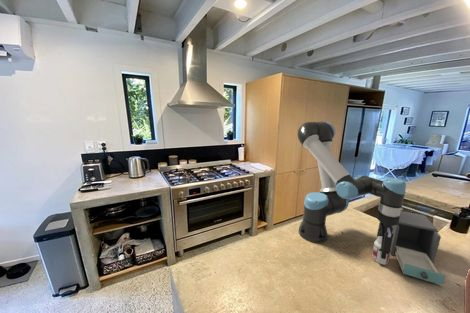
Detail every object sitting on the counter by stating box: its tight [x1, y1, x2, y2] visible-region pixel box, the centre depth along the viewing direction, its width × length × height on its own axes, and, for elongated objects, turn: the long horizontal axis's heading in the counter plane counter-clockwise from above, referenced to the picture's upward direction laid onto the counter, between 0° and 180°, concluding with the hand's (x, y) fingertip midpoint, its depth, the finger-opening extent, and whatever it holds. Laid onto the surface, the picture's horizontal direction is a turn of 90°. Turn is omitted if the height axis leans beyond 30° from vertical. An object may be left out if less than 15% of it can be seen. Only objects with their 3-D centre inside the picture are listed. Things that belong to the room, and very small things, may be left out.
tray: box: [394, 246, 446, 286], centre depth 83 cm, size 18×12×4 cm, turn 152°
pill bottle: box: [371, 236, 391, 265], centre depth 87 cm, size 6×6×11 cm
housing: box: [390, 210, 442, 265], centre depth 94 cm, size 18×15×16 cm
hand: (379, 258), depth 88 cm, fingers closed on pill bottle, 6 cm apart
